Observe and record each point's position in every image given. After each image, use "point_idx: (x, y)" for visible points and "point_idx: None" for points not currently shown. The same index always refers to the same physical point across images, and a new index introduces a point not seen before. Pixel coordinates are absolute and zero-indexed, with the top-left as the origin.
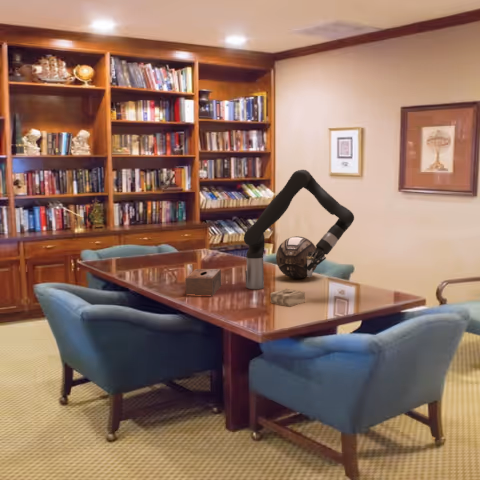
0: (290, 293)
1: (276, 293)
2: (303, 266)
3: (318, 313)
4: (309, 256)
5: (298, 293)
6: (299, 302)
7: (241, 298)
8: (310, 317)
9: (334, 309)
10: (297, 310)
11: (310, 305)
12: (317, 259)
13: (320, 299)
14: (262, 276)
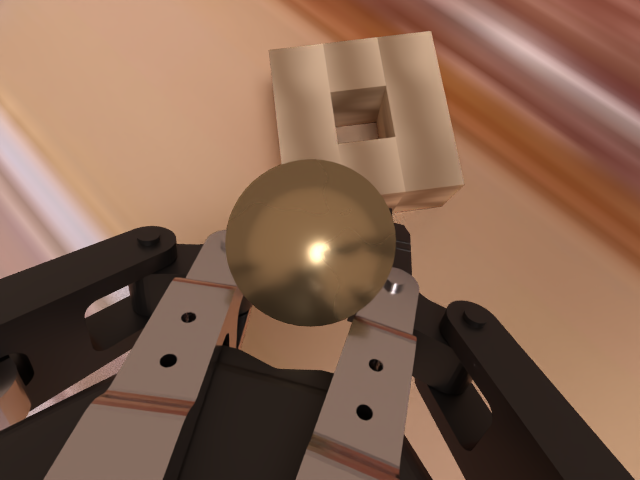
0: (326, 109)
1: (392, 47)
2: (391, 210)
3: (61, 105)
4: (366, 283)
5: (286, 146)
6: None
7: (607, 25)
8: (46, 30)
9: (41, 225)
10: (186, 70)
11: (208, 191)
12: (67, 266)
13: (269, 348)
14: None
